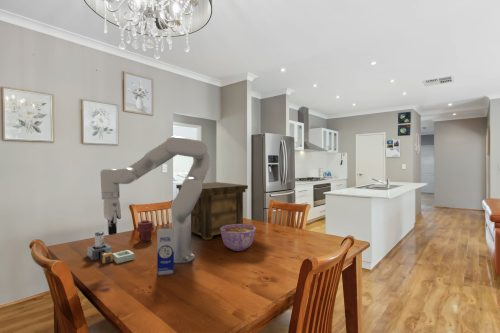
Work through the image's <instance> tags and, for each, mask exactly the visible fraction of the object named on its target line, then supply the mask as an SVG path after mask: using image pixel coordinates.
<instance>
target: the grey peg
mask: <svg viewBox="0 0 500 333" xmlns="http://www.w3.org/2000/svg"><path fill="white" fill-rule="evenodd" d="M104 238H105V232H104V231H97V232H94V246H95V250H96V249H101V248H104V244H105V239H104Z"/></svg>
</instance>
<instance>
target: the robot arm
mask: <svg viewBox="0 0 500 333" xmlns="http://www.w3.org/2000/svg"><path fill="white" fill-rule="evenodd" d="M208 151H209V149H208V145H207V143H206V142H204V141H203V140H199V139H195V138H194V139H193V138H187V137H182V136H177V135H174V136H170V137H168V138H167V139H166V140H165V141H164V142H162V143H161V144H159V145H157V146H156V147H154V148H152V149H150V150H149V151H148V152H146V153H145V154H144V156H143V157H141V158H140V159H139V160H137V161H136V162H134V163H133V164H131V165H129V166H128V167H123V168H119V169H118V168H106V169H101V171H100V189H101V190H100V191H101V192H100V193H101V200H103V217H104V219H105V220H107V233H108V235H109V236H113V235H116V234H118V232H117V230H118V229H117V224H118V220H121V218H122V213H121V209H122V208H121V203H120V198H121V197H120V196H121V195H120V185H130V184H132V183H134V182H135V181H137V180H139V179H140V178H142V177H143V176H145V175H147V174H148V173H150V172H151V171H153V170H155V169H157V168H158V167H160V166H162V165H163V164H165V163H166V162H169V161H170V160H171V159H173V158H174V157H176V156H183V157H189V158H192V160H193V162H192V164H191V167H190V169H189V170H188V173H187V174H186V176H185V178H184V180H182V183H181V185H182V187H181V189H180V191H179V190H178V193H177V194H176V197H174V198H173V200H172V201H171V205H170V206H171V207H170V210H171V229H172V228H174V264H185V263H188V262H189V263H190V262H192V261H193V260H194V259H195V254H193V253H192V252H193V251H192V233H191V212H192V210H193V208H194V206H195V204H196V202H197V200H198V198H199V196H200V194H201V191H202V183H204V181H205V178H206V176H207V174H208V171H209V168H210V166H211V157H210V154H209V152H208Z"/></svg>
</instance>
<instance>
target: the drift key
mask: <svg viewBox="0 0 500 333" xmlns="http://www.w3.org/2000/svg"><path fill="white" fill-rule="evenodd" d="M112 253H113V252H112ZM112 253H111V252H110V253H106V252H105V251H102V252H99V259H100V260H101V263H102V264H108V263H111V262H112V263H113V260H112Z"/></svg>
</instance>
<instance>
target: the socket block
mask: <svg viewBox="0 0 500 333" xmlns="http://www.w3.org/2000/svg"><path fill="white" fill-rule="evenodd" d="M102 251H105V252H106V253H110V252H111V253H113V247H112V246H111V245H109V244H108V243H106V242H104V248H101V249H96V250H95V245H92V246H87V253H86V256H87V257H88V258H89V259H91V261H96V260H99V259H100V258H99V252H102Z"/></svg>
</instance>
